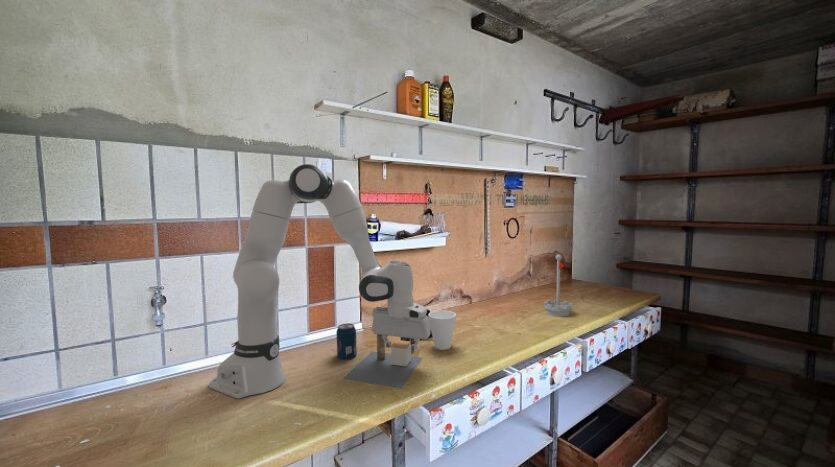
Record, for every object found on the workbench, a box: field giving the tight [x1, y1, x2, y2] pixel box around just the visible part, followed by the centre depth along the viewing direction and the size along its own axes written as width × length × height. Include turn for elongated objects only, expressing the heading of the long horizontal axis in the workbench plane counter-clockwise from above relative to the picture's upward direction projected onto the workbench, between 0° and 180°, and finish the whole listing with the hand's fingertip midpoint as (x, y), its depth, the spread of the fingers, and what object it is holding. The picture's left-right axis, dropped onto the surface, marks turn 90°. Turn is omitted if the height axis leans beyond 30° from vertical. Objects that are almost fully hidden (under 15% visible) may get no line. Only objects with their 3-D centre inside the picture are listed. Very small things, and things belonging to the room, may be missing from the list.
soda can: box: [335, 323, 358, 361], centre depth 128 cm, size 7×7×12 cm
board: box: [341, 351, 424, 389], centre depth 118 cm, size 20×22×1 cm
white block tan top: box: [390, 339, 412, 366], centre depth 121 cm, size 5×5×7 cm
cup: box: [428, 309, 457, 351], centre depth 135 cm, size 10×10×14 cm
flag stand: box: [543, 253, 573, 318], centre depth 177 cm, size 13×13×30 cm
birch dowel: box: [376, 334, 386, 361], centre depth 125 cm, size 3×3×9 cm
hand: (401, 348), depth 121 cm, fingers open, 8 cm apart
